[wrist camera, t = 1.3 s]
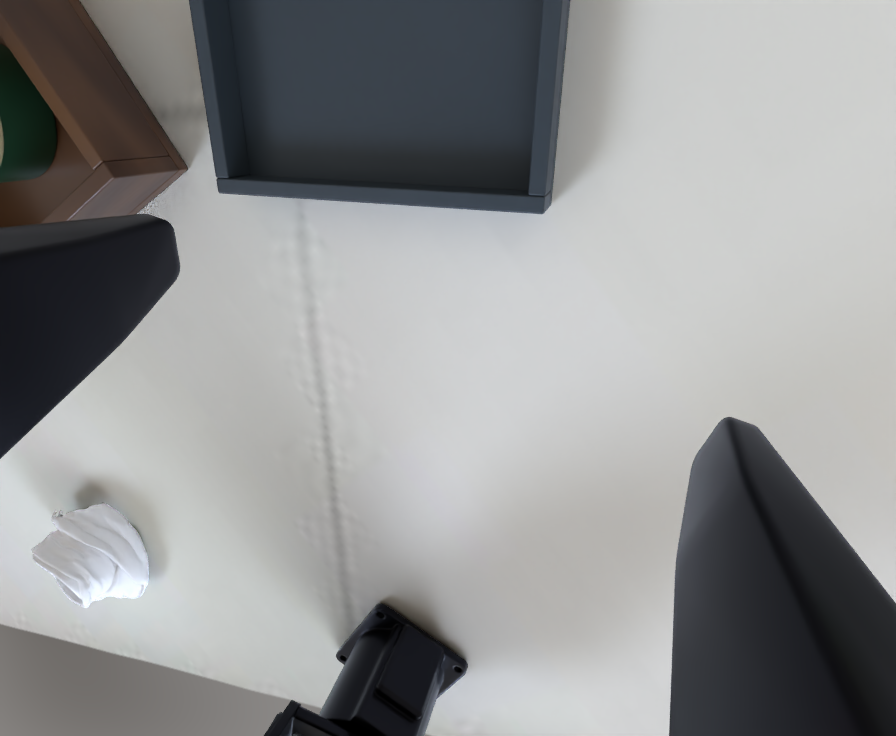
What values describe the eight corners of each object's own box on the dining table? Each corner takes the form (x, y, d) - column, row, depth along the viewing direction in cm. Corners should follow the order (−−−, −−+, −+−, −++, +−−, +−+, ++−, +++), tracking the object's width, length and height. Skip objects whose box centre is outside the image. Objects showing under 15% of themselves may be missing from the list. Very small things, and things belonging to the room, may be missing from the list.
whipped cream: (184, 566, 38) (137, 625, 34) (122, 589, 41) (70, 647, 36) (106, 479, 36) (45, 531, 32) (45, 510, 38) (-19, 561, 34)
